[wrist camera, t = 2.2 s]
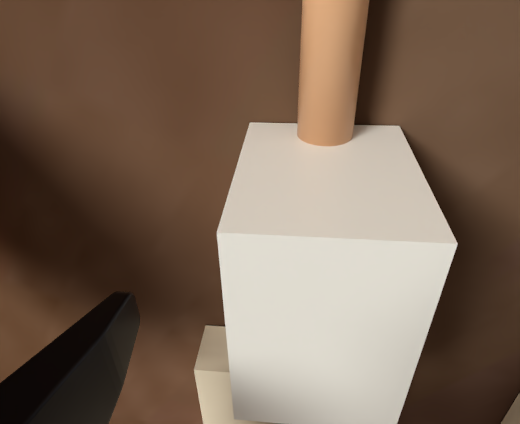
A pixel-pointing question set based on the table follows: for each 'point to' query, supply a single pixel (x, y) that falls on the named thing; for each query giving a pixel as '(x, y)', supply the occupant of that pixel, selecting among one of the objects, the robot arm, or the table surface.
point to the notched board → (219, 385)
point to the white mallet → (328, 248)
